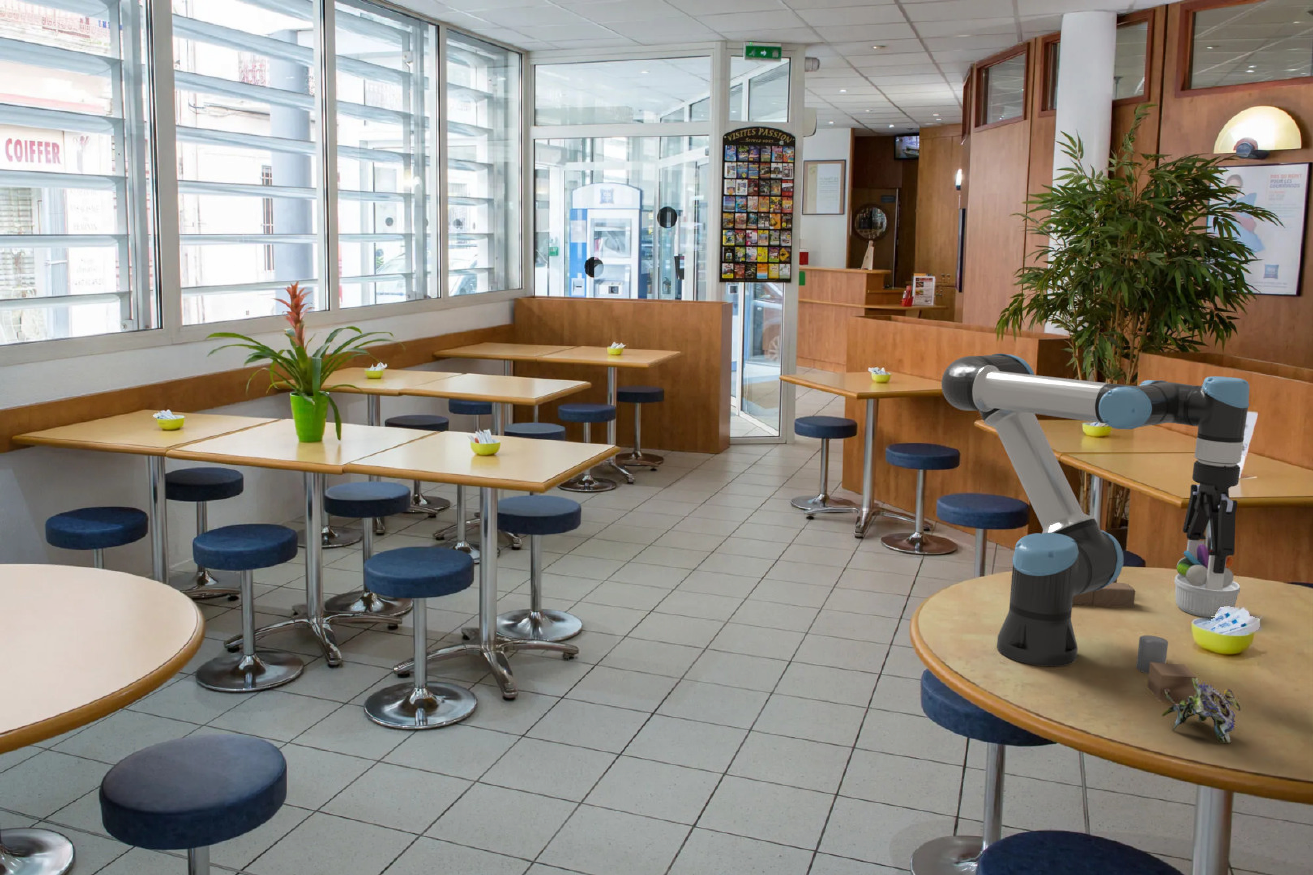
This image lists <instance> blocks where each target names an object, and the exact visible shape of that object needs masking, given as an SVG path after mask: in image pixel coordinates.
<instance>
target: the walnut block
mask: <svg viewBox="0 0 1313 875" xmlns="http://www.w3.org/2000/svg"><path fill="white" fill-rule="evenodd" d="M1192 678H1194V679H1196V678H1197V676H1196V675H1195V673H1193V672H1192V671H1191V670H1190V669H1189V668H1188V667H1187V666H1186V665H1185V664H1184V663H1168V662H1166V663H1154V662H1150V668H1149V674H1148V678H1147V688H1148V690H1149V691H1150V692H1151V694H1152V695H1153V696H1154V698H1156V699H1157V701H1159V702H1160V701H1161V702H1171V700H1170V699H1167V698H1166V694H1165V689H1169V690H1170V693H1169V697H1170V698H1171V699H1172V700H1173V702H1174V703H1177V702H1178V703H1181V701H1182V700H1185V701H1186V703H1187V704H1188V696H1189V697H1190V696H1193V698H1194V697H1195V695H1196V691H1195V689H1194V687H1193V684H1192V681H1191V679H1192Z"/></svg>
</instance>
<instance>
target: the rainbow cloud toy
mask: <svg viewBox="0 0 1313 875" xmlns="http://www.w3.org/2000/svg"><path fill="white" fill-rule="evenodd" d="M1211 551H1212V548H1211V549H1210V550H1208V547H1207V546H1206V545H1205V543H1204V544H1200V545H1199V546H1198V548H1197V559H1196V558H1195V557H1194V556H1193V555H1192V554H1191V553H1190V552H1189V551H1187V550H1184V552H1183V555H1184V557H1182V558H1180V559H1179V561H1178V562H1177V564H1176V571H1177V573H1178V574H1180V575H1181V576H1183V577H1185V578H1186V579H1187V581H1188V582H1189V583H1190V584H1191V585H1194V586H1203V585H1205V584H1206V578H1207V570H1208V562H1209V554H1208V552H1211ZM1233 565H1234V559H1233V558H1232V557H1231V556H1227V558H1226V565H1225V573H1224V581H1223V588H1226V587H1228V586H1230V585H1231V583H1232V582H1233V581H1234V574H1233V572H1232V570H1231V569H1230V567H1231V566H1233Z"/></svg>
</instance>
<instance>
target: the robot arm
mask: <svg viewBox="0 0 1313 875" xmlns="http://www.w3.org/2000/svg"><path fill="white" fill-rule="evenodd" d="M941 390H942V392H941V393H942V394H943V396H944V399H946V401H947V402H948V403H949V404H950V405H951V406H952V407H954V408H956V409H958V410H961V411H967V412H968V411H972V412H973V411H976V412H979V414H980V417H981V418H982V421H983V422H984V424H985V425H987V426H989V427H991V428H992V427H993V428H994V429H995V431H996V433H997V435H998V437H999V439H1000V441H1001V443H1002V446H1003V447H1004V450H1005V452H1006V454H1007V456H1008V458H1009V461H1010V462H1011V464H1012V467H1013V469H1014V471H1015V474H1016V476H1017V477H1018V480H1019V481H1020V483H1021V486H1022V488H1023V489H1024V491H1025V494H1026V496H1027V498H1028V501H1029V502H1030V505H1031V506H1032V509H1033V511H1034V513H1035V514H1036V515H1035V516H1036V517H1037V519H1038V521H1039V524H1040V525H1041V528H1042V532H1041V533H1039V532H1038V533H1037V532H1036V533H1031V534H1026V535H1025V536H1023V537H1020V538H1019V539H1018V541H1017V542H1016V544H1015V546H1014V554H1013V556H1012V572H1011V584H1010V585H1011V586H1010V597H1009V607H1008V608H1009V610H1008V612H1007V614H1006V616H1005V619H1004V622H1003V623H1002V626H1001V627H1000V630H999V632H998V634H997V638H996V639H997V640H996V649H997V651H998V652H999V653H1001V654H1002V655H1003V656H1005V657H1007V658H1008V659H1009V658H1010V659H1011V660H1013V661H1016V662H1020V663H1024V664H1028V665H1035V666H1040V667H1042V666H1043V667H1062V666H1067V665H1071V664H1073V663H1075V662H1076V661H1077V659H1078V658H1077V657H1078V644H1077V640H1076V635H1075V632H1074V626H1073V623H1072V613H1073V604H1072V602H1073V596H1077V595H1080V594H1083V593H1086V592H1090V591H1097V590H1099V589H1101V588H1104V587H1105V586H1107V585H1110V584H1111V583H1113V582H1114V581H1115V580H1116V579H1117V580H1118V578H1119V576H1120V574H1121V572H1122V569H1123V567H1124V566H1123V565H1124V553H1123V550H1122V547H1121V544H1120V543H1119V540H1117V539H1116V537H1114V535H1112V534H1110V533H1108V532H1106V531H1104V530H1103V529H1102V530H1101V528H1100V526H1099V525H1098V522H1097V521H1096V518H1095V517H1094V516H1091V515H1089V514H1086V513H1084V511H1083V510H1082V508H1081V506H1080V504H1079V501H1078V499H1077V497H1076V495H1075V493H1074V492H1073V490H1072V487H1071V485H1070V483H1069V481H1068V479H1067V478H1066V475H1065V473H1064V471H1063V469H1062V467H1061V465H1060V462H1059V461H1058V459H1057V456H1056V454H1055V452H1054V451H1053V449H1052V446H1051V445H1050V442H1049V440H1048V438H1047V437H1046V435H1045V432H1044V430H1043V428H1042V427H1041V424H1040V422H1039V420H1038V417H1037V416H1036V415H1040V416H1041V415H1042V416H1050V417H1056V418H1057V417H1058V418H1065V419H1072V420H1078V421H1086V422H1092V423H1099V424H1106V425H1107V426H1108V427H1111V428H1112V429H1117V430H1134V429H1136V428H1142V427H1148V426H1155V425H1162V424H1178V425H1187V426H1192V427H1197V434H1196V441H1195V450H1194V455H1193V456H1194V458H1195V459H1196V460H1195V461H1194V462H1193V471H1192V481H1193V482H1195V483H1197V484H1191V485H1190V492H1189V494H1190V496H1189V500H1188V505H1187V509H1186V512H1185V513H1186V514H1185V518H1184V521H1183V528H1182V533H1183V534H1186V538H1187V543H1186V544H1187V545H1186V546H1187V547H1186V551H1189V552H1190V553H1191V554H1192V555H1193V556H1194V557H1195V558H1196V559H1197V548H1198V546H1199V545H1200V544H1204V545H1205V541H1204V540H1206V539H1207V538H1206V536H1205V532H1206V530H1207V526H1208V524H1209V527H1210V538H1211V539H1210V541H1211V549H1212V551H1211V552H1209V551H1208V554H1209V562H1208V570H1207V578H1206V586H1205V588H1206V589H1209V590H1222V589H1223V581H1224V573H1225V565H1226V558H1227V557H1230V556H1234V555H1235V548H1236V546H1235V545H1236V542H1235V541H1236V513H1237V509H1238V500H1236V499H1235V500H1232V499H1230V494H1229V493H1230V490H1229V489H1230V488H1232V487H1236V486H1238V485H1239V482H1240V472H1241V467H1240V465H1239V464H1240V463H1241V461H1242V455H1243V454H1242V453H1243V451H1244V450H1245V445H1244V438H1245V432H1246V431H1245V430H1246V424H1247V419H1248V418H1247V417H1248V410H1249V406H1250V403H1249V401H1250V400H1249V399H1250V384H1249V382H1248V381H1247V380H1245V379H1243V378H1239V377H1233V376H1231V377H1229V376H1228V377H1227V376H1214V375H1213V376H1207V377H1205V378H1204V380H1203V383H1202V385H1194V384H1187V383H1186V384H1185V383H1180V382H1179V383H1178V382H1171V381H1166V380H1163V379H1161V380H1153V379H1152V380H1150V379H1147V380H1144V381H1142V382H1140V384H1139V385H1129V384H1128V385H1126V384H1117V383H1107V382H1100V381H1099V382H1098V381H1090V380H1089V381H1088V380H1082V379H1072V378H1064V377H1054V376H1046V375H1044V376H1043V375H1035V372H1034V370H1033V368H1032V366H1030V364H1029V363H1028V362H1027V361H1026V360H1025V359H1023V358H1022V357H1020V356H1017V355H1014V354H1009V353H1008V354H1007V353H994V354H987V355H968V356H963V357H960V358H958V359H956V360H954V361H953V362H951V363H950V364H949V365H948V366H947V367H946V369H945V370H944V372H943V375H942V377H941Z"/></svg>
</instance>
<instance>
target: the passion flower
mask: <svg viewBox="0 0 1313 875" xmlns="http://www.w3.org/2000/svg"><path fill="white" fill-rule="evenodd" d="M1191 681H1192V684H1193V687H1194V689H1195V696H1194V698H1193V696H1190V697H1189V696H1188V703H1187V702H1186V701H1185V700H1182V701H1181V702H1179V703H1176V702H1173V700H1172V699H1171V698H1170V697H1169V693H1170V690H1169V689H1165V694H1166V698H1167V699H1170V700H1171V701H1170V702H1171V703H1172V705H1171V706H1170V707H1169V708H1167V709H1166V710H1164V712H1163V713H1162V714H1161V717H1165V716H1167V715H1169V714H1171V713H1174V712H1176V711H1177V717H1176V720H1175V723H1174V726H1173V728H1172V729H1171V730H1172V731H1174V730H1175V729H1176V728H1177V726H1179V725H1182V724H1184V723H1186V721H1187V720H1188V719H1189V718H1190V717H1193V716H1195V715H1198V722H1205V721H1206V720H1207V718H1211V720H1212V721H1213V727H1214V729H1213V732H1214V733H1215V736H1216V738H1217V740H1218V741H1219V742H1220V743H1222V744H1230V743H1231V738H1230V737H1231V736H1230V733H1231V732H1233V730H1235V725H1236V721H1235V718H1236V714H1235V712H1234V711H1233V710H1231V707H1233V708H1234V709H1235V710H1237V711H1239V712H1240V711H1241V706H1240V703H1239V702H1238V701H1237V700H1236V698H1235V696H1234V694H1233V691H1232V690H1231V689H1230V688H1227V689H1225V690H1224V691H1223V694H1222V692H1218V690H1217V689H1216V688H1213V685H1212V684H1210V685H1208V684H1206V682H1202V684H1200V683H1199V678H1196V679H1194V678H1192V679H1191ZM1230 706H1231V707H1230ZM1225 742H1226V743H1225Z"/></svg>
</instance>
